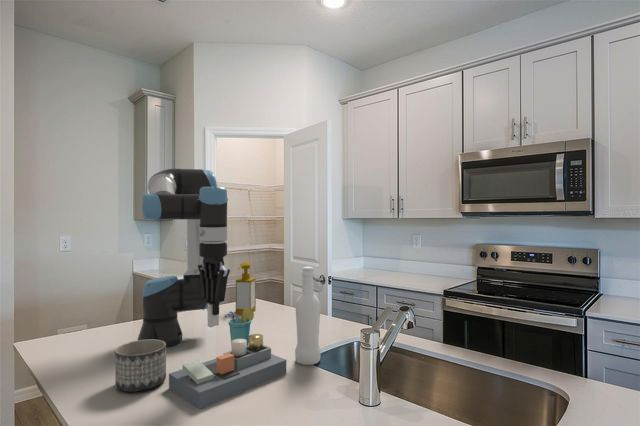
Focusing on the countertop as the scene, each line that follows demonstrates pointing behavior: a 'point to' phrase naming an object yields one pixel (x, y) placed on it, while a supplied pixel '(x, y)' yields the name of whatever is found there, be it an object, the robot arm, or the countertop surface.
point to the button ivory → (239, 347)
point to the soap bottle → (245, 290)
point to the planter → (140, 365)
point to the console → (229, 377)
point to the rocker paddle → (198, 371)
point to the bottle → (307, 322)
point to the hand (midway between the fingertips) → (213, 325)
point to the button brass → (255, 342)
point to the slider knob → (224, 363)
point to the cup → (240, 325)
